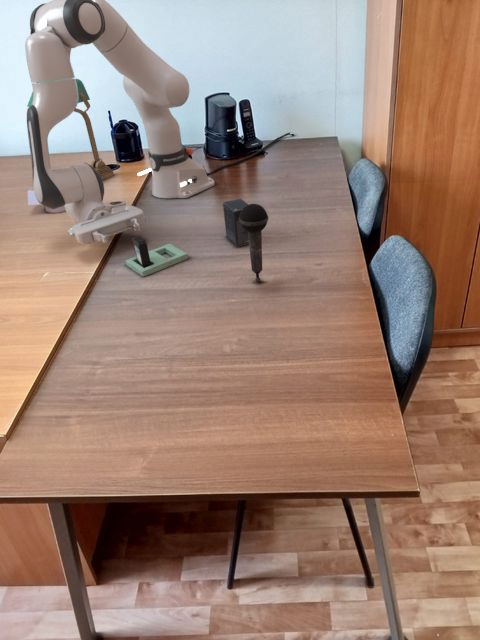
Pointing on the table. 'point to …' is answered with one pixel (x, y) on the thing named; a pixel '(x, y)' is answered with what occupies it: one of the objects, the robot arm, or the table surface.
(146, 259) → the ink cartridge
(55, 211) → the wedge on round base
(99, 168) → the banker's lamp
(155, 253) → the holder
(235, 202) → the box
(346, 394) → the table surface
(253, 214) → the microphone
